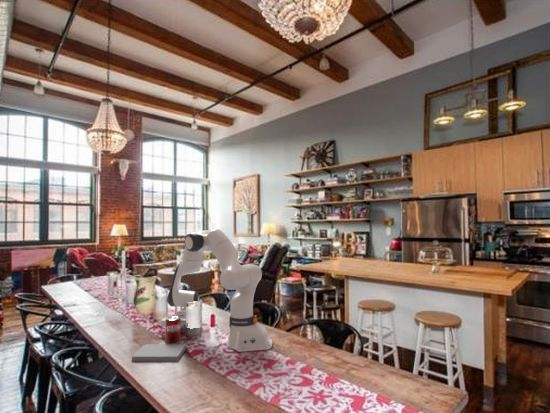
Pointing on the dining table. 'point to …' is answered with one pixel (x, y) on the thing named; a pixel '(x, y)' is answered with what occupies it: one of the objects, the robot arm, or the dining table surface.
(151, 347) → the serving board
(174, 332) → the soda can
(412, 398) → the dining table surface
